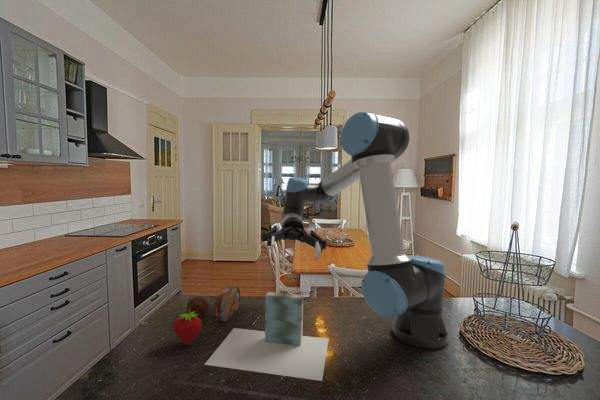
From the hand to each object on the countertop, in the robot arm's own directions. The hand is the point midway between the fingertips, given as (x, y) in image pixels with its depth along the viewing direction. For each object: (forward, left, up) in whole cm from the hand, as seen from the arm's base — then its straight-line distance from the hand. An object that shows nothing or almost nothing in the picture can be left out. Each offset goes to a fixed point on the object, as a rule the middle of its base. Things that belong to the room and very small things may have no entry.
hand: (295, 251), depth 86 cm
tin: (+24, -7, -24) cm, 35 cm away
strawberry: (+27, +12, -24) cm, 38 cm away
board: (+2, +6, -24) cm, 24 cm away
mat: (+4, +11, -24) cm, 27 cm away
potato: (+33, -4, -24) cm, 41 cm away
